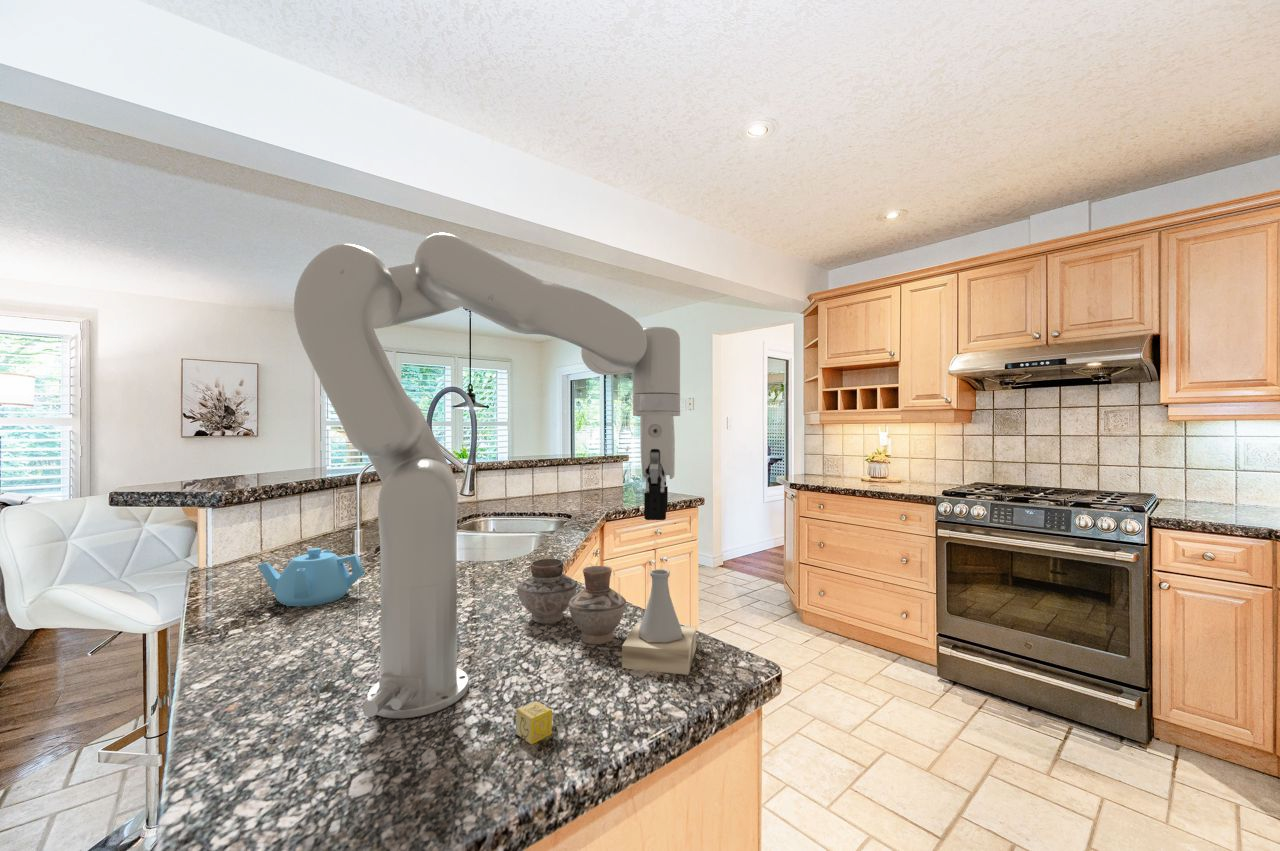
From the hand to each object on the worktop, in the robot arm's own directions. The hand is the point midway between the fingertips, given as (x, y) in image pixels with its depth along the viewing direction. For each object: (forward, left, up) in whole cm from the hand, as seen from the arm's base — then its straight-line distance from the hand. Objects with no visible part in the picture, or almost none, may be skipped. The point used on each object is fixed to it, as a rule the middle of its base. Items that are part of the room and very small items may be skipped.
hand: (656, 514), depth 82 cm
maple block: (0, -1, -23) cm, 23 cm away
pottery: (+12, +16, -23) cm, 30 cm away
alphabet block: (-22, +14, -23) cm, 34 cm away
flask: (0, 0, -19) cm, 19 cm away
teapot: (+25, +76, -23) cm, 83 cm away
